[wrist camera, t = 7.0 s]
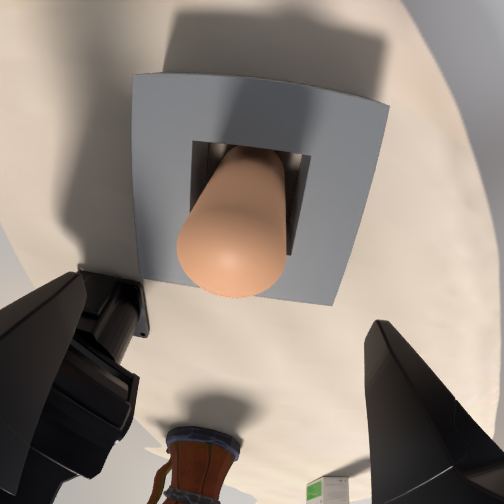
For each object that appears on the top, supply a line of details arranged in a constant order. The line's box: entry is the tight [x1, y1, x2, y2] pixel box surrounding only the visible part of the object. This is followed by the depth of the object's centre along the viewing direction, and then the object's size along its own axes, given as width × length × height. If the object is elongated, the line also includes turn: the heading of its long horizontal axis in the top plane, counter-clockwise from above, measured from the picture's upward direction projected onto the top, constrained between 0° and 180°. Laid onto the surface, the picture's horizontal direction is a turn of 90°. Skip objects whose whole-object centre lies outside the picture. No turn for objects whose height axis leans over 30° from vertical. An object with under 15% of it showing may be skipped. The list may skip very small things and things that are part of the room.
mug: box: [147, 427, 240, 504], centre depth 36 cm, size 18×12×15 cm, turn 127°
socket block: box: [131, 72, 390, 306], centre depth 17 cm, size 12×12×4 cm
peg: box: [176, 145, 286, 298], centre depth 15 cm, size 4×4×9 cm
